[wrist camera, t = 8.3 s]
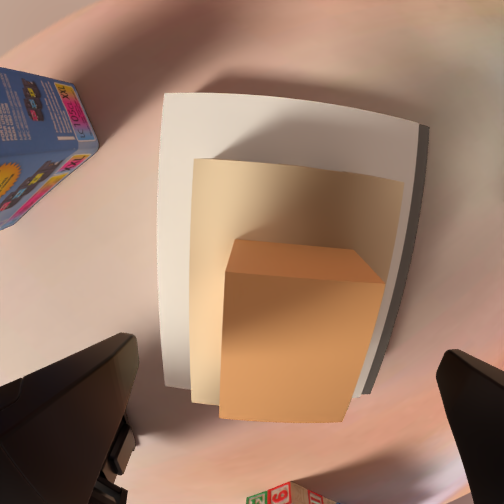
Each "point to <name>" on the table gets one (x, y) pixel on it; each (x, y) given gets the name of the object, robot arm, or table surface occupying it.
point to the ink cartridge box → (38, 139)
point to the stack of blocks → (288, 496)
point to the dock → (277, 151)
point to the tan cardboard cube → (294, 331)
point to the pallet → (274, 234)
